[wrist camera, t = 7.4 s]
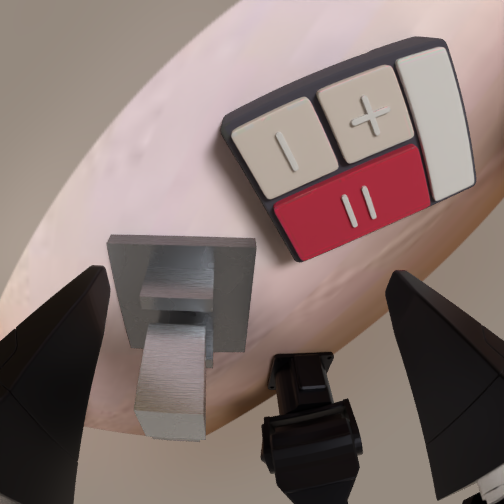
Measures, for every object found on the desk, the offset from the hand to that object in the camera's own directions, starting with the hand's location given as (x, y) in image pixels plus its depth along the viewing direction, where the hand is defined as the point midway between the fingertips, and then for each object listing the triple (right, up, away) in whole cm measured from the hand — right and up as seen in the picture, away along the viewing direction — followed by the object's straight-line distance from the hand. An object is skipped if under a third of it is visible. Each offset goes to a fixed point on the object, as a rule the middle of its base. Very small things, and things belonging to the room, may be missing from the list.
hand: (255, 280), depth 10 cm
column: (-5, -6, +14) cm, 16 cm away
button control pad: (+7, +9, +11) cm, 16 cm away
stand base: (-6, -3, +18) cm, 19 cm away
